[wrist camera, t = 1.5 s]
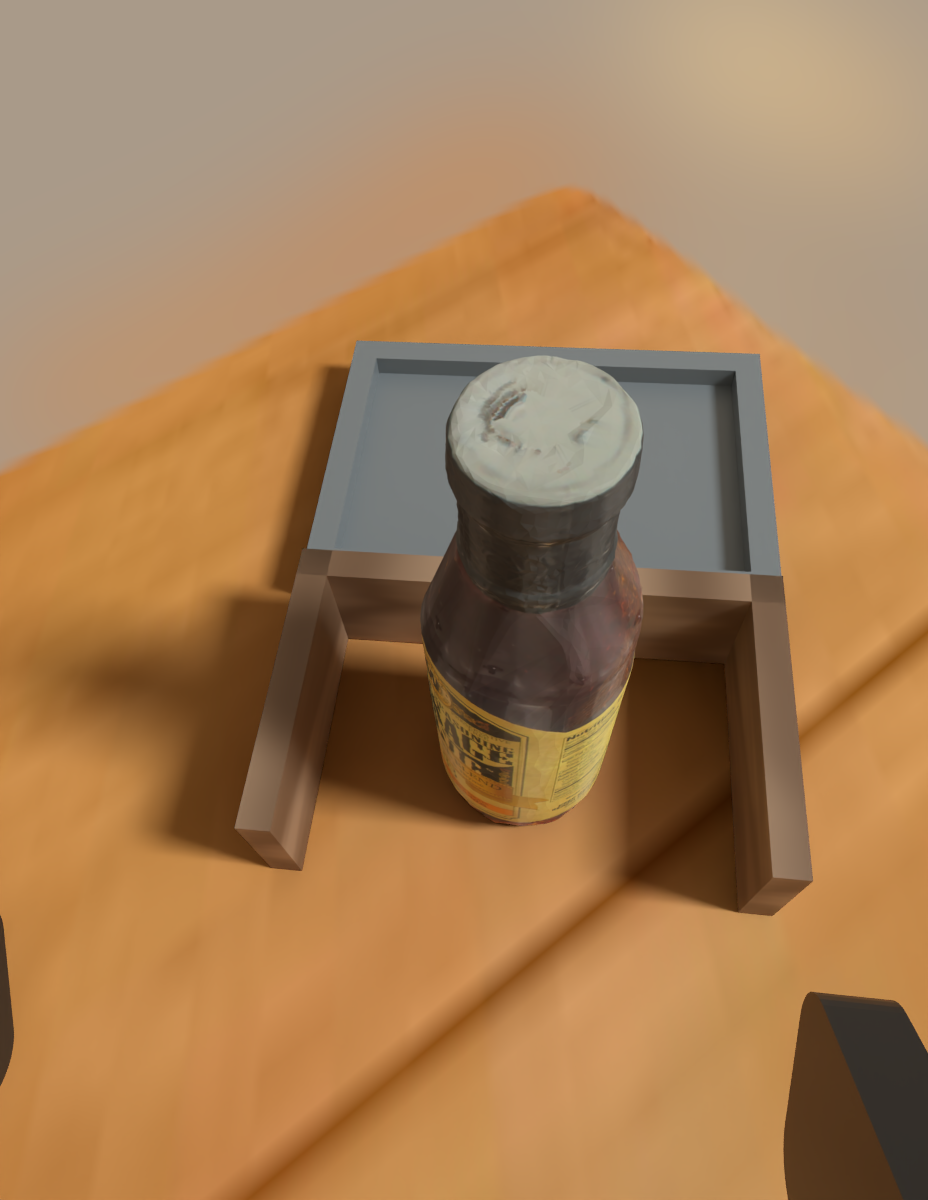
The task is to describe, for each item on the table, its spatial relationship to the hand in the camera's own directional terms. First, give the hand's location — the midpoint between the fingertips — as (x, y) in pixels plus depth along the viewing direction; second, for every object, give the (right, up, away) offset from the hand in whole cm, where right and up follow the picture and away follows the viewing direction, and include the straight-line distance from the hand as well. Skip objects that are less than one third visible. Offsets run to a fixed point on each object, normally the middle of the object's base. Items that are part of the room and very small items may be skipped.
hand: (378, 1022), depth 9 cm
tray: (+5, +10, +33) cm, 35 cm away
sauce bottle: (+3, -2, +26) cm, 27 cm away
